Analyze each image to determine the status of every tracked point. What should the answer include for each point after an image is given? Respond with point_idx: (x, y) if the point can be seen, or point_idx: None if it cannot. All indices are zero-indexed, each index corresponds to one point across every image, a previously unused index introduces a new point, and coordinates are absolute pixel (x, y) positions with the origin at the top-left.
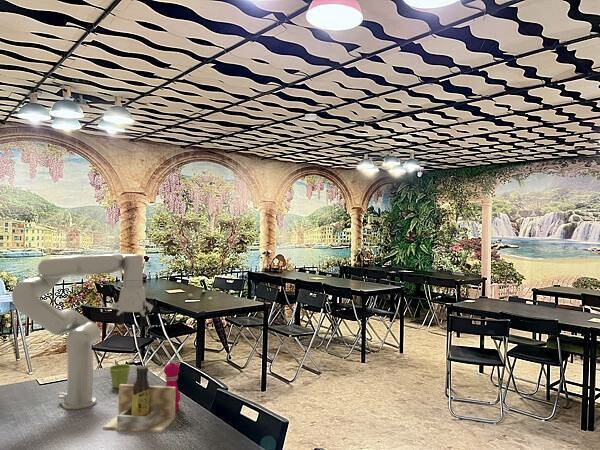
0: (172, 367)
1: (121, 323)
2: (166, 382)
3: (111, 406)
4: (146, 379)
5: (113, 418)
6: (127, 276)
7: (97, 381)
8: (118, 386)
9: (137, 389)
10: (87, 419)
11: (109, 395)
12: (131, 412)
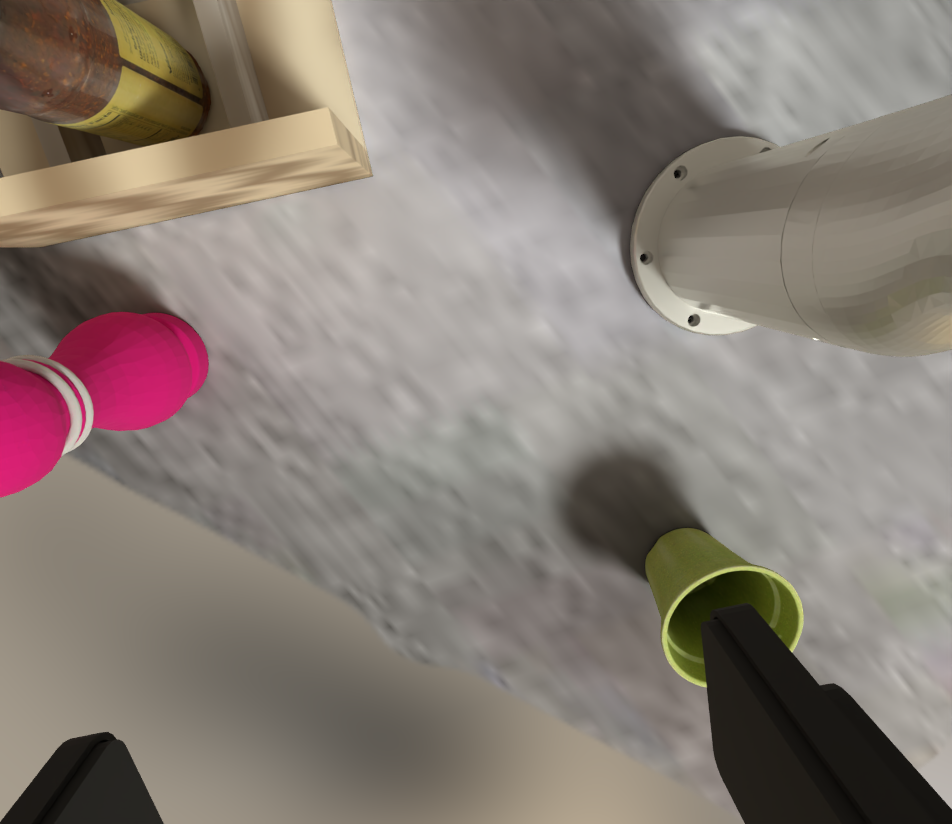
0: None
1: (720, 695)
2: (73, 366)
3: (516, 277)
4: None
5: (347, 79)
6: None
7: (848, 576)
8: (671, 535)
9: None
10: (511, 44)
11: (642, 419)
12: (167, 36)
